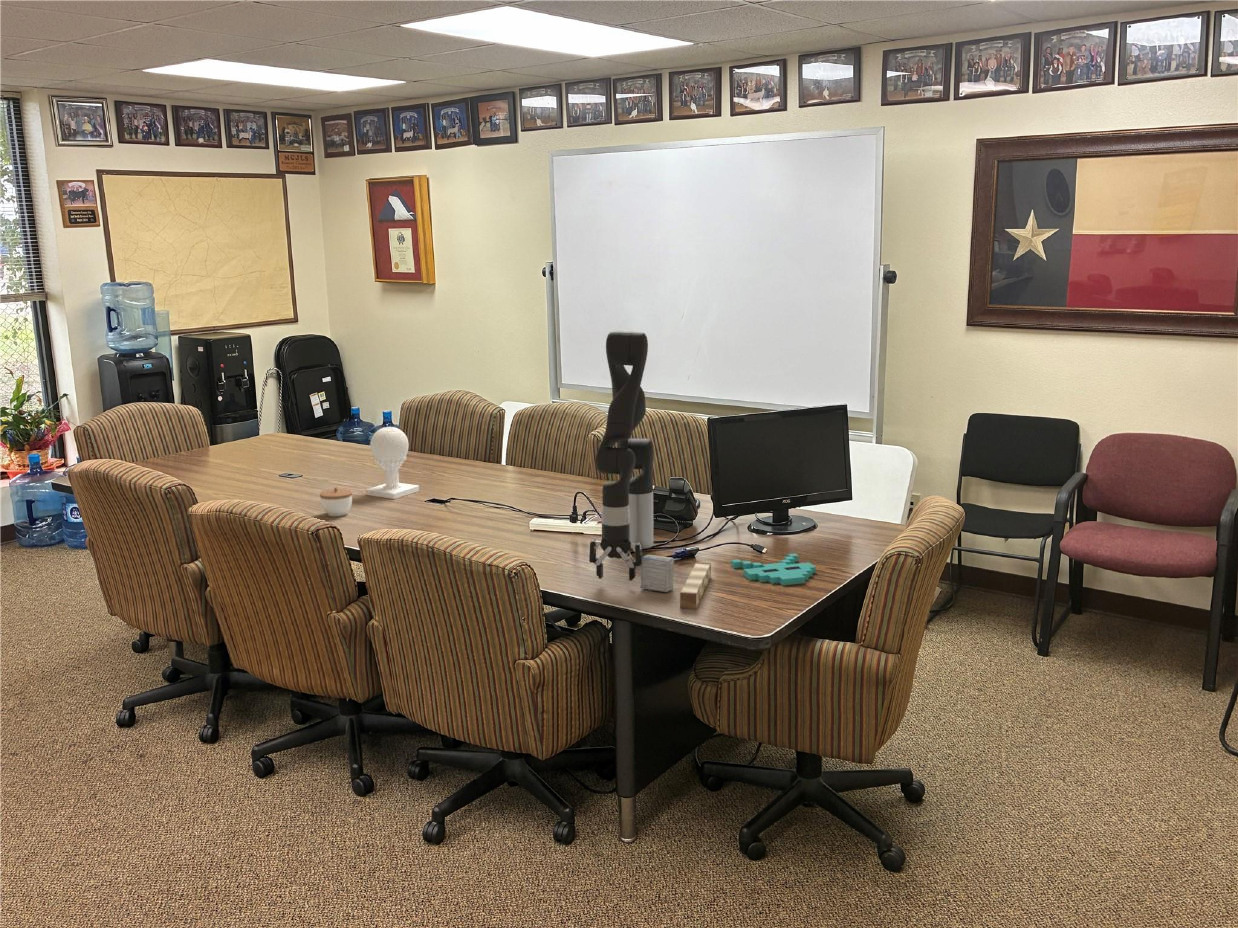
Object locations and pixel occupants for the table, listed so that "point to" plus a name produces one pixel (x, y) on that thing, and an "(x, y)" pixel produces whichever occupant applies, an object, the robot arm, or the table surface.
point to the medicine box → (657, 573)
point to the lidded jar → (336, 501)
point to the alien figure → (777, 571)
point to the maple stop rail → (695, 585)
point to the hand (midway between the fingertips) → (615, 578)
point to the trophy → (390, 462)
